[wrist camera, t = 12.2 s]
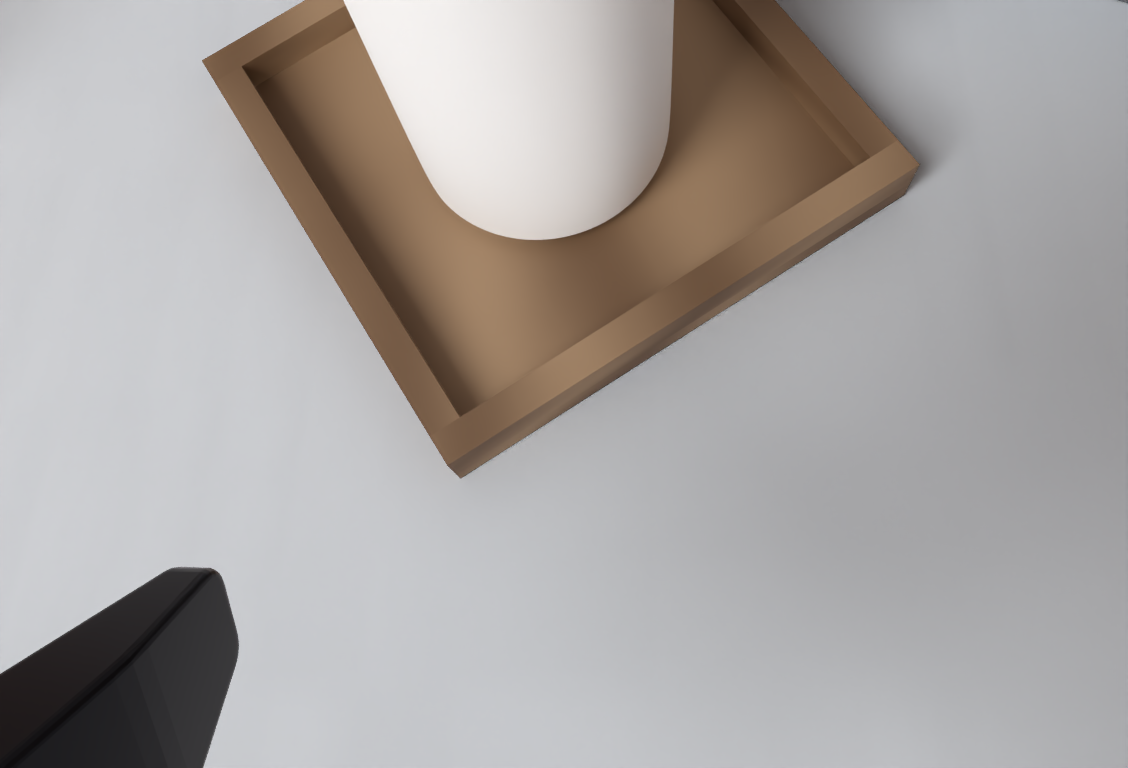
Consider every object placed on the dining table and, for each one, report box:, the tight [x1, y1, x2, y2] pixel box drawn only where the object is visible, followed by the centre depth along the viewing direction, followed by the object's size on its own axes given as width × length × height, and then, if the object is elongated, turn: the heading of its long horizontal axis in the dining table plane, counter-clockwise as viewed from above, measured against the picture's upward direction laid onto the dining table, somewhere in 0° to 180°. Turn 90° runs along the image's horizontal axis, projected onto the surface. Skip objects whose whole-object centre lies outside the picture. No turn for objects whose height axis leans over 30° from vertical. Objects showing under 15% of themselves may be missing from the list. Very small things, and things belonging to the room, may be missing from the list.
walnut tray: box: [202, 0, 920, 478], centre depth 24 cm, size 13×13×2 cm
